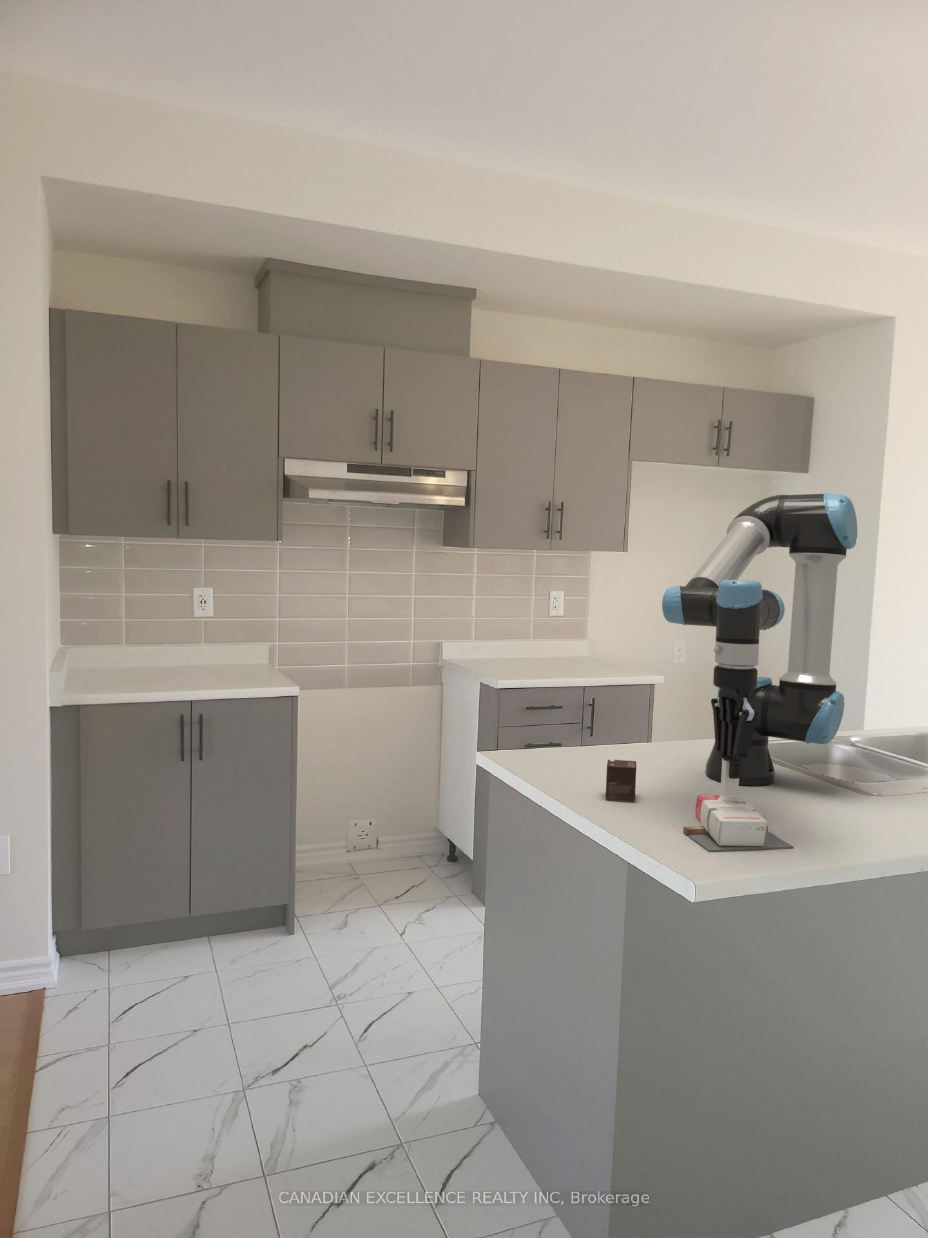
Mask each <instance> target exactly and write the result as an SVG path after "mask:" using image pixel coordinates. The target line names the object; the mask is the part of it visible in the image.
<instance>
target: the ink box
mask: <svg viewBox="0 0 928 1238" xmlns="http://www.w3.org/2000/svg"><path fill="white" fill-rule="evenodd" d="M694 813H695V818H696V820H697V821H698V822H699V824H700V826H703V827H704V828H705V829H706V830H707V832H708V833H709V834H710V835H711V836H712V838H713V839H714V840H715V841H716V842H717V844H718V845H720V846H764V844H765V838H766V831H767V826H768V821H767V820H766V819H765V818H764V817H763V816H762V815H761V814H760V813H759V812H758V811H757V810H756V809H755V808H754V807H753V806H752V805H751V804H750V803H749V802H748V801H747V800H746V799H745V798H744V797H743V796H742V795H741V794H738V795H734V796H724V795H722V794H698V795H697V797H696V802H695V812H694Z"/></svg>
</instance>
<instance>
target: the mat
mask: <svg viewBox="0 0 928 1238" xmlns="http://www.w3.org/2000/svg"><path fill="white" fill-rule="evenodd" d="M687 837H688V838H689V839H690V840H692V841H693V842H695V843H696V844H697V845H699V846H700V847H701V848H703V850H705V851H707V852H708V853H716V852H719V853H720V852H736V851H737V852H740V851H743V852H744V851H758V850H759V851H760V850H761V851H762V850H765V851H766V850H787V849H794V848H795V846H793V845H792V844H790V843H789V842H787V841H786V840H783V839H782V838H780V837H778V836H777V835H775V834H774V833H772V832H770V831H768V832H766V838H765V844H764V846H720V845H718V844H717V842H716V841H715V840H714V839H713V838H712V836H711V835H710V834H704V835H688V836H687Z"/></svg>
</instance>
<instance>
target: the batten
mask: <svg viewBox="0 0 928 1238" xmlns="http://www.w3.org/2000/svg"><path fill="white" fill-rule="evenodd" d="M682 829H683V834H684V835H685V836H686V837H688V835H704V834H709V833H708V832H707V830H706V829H705V828H704V827H703V826H702V825H697V826H696V825H694V826H683V828H682ZM766 832H769V826H768V825H767V831H766Z"/></svg>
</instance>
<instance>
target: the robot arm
mask: <svg viewBox="0 0 928 1238" xmlns="http://www.w3.org/2000/svg"><path fill="white" fill-rule="evenodd" d="M857 520H858V519H857V515H856V510H855V507H854V504H853V501H852V500H851V499H850V498H849V497H848V496H847V495H845V494H841V493H840V494H839V493H838V494H837V493H825V492H824V493H812V494H811V493H810V494H807V493H805V494H776V495H770V496H768V497H766V498H762V499H761V500H758V501H757V502H755V503H752V504H751V505H749V506H748V507H746V508H744V509H743V510H742V511H740V512H739V513H738V514H737V515H736V516H735V517H734V518H733V519H732V520H731V522H730V523H729V524H728V527H727V529H726V535H725V536H724V538H723V539H722V540H721V542H720V543H719V544H718V545H717V547H715V549H714V550H713V551H712V553H711V554H710V555H709V556H708V558H707V559H706V560H705V561H704V563H703V564H702V565H701V566H700V568H699V569H698V570H697V571H696V572H695V574H694V575H693V576H692V578H691V579H690V580H689V581H688V582H687V584H685V586H682V585H672V586H669V587H667V588H666V590H665V592H664V593H663V595H662V602H661V608H662V609H661V610H662V614H663V618H664V619H665V620H666V621H667V622H668V623H670V624H677V625H683V626H686V625H687V626H699V627H701V626H703V627H713V628H714V627H716V628H715V645H714V646H715V647H714V648H713V652H714V662H715V663H716V665H715V666H714V668H713V681H712V682H713V684H712V685H714V687H716V688H717V697H716V698H711V700H710V704H711V708H712V713H713V714H712V715H713V727H714V744H713V746H712V749H711V752H710V754H709V757H708V759H707V761H706V765H705V775H706V777H708V778H710V779H712V780H713V781H717V782H720V795H724V796H734V795H739V786H766V785H770V784H773V783H774V782H775V775H776V772H775V771H776V770H775V767H774V765H773V760H772V757H771V752H770V749H769V738H776V739H782V740H788V741H795V742H803V743H805V744H808V745H809V744H818V745H826V744H829V743H830V742H832V741H833V740H834V738H835V737H836V735H837V733H838V731H839V728H840V726H841V723H842V719H843V716H844V709H845V702H844V701H845V697H844V694H843V693H842V692H840V691H836V690H837V682H836V681H835V680H834V679H833V678H832V676H831V674H830V671H831V659H832V657H831V655H832V645H833V635H834V634H833V633H834V631H833V630H834V619H835V618H834V617H835V607H836V593H837V592H836V591H837V583H838V582H837V581H838V570H839V569H838V566H839V565H840V564H841V563H842V561H844V560H845V559H846V558H847V552H848V551H847V550H851V549H854V548H855V547H856V544H857V540H858V539H857V538H858V521H857ZM768 548H770V549H771V548H789V549H788V556H789V557H790V558H791V559H792V561H794V563H795V568H794V581H793V594H792V608H791V621H790V636H789V648H788V658H787V659H788V660H787V661H788V662H787V671H786V672H785V673H784V674H783V675H782V676H780V677H779V680H778V681H779V684H778V685H775V684H773V681H772V678H771V677H768V676H767V677H765V676H758V669H757V668H756V666H758V665H759V656H760V655H759V654H760V653H759V650H760V635H761V634H760V631H761V630H762V631H767V630H770V629H772V628H774V627H776V626H777V625H778V624H780V622H781V621H782V620H783V618H784V616H785V611H786V610H785V603H784V601H783V599H782V597H781V596H780V595H779V594H778V593H776V592H774V591H772V590H770V589H766V588H765V589H763V588H762V587H763V586H762V583H761V582H760V581H758V580H746V579H739V578H740V577H741V576H742V575H743V574H744V572H745V571H746V569H747V568H748V566H749V565H750V563H751V562H752V561H753V560H754V559H755V557H756V556H757V555H761V554H762V553H764V552H765V551H766V550H767V549H768Z"/></svg>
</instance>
